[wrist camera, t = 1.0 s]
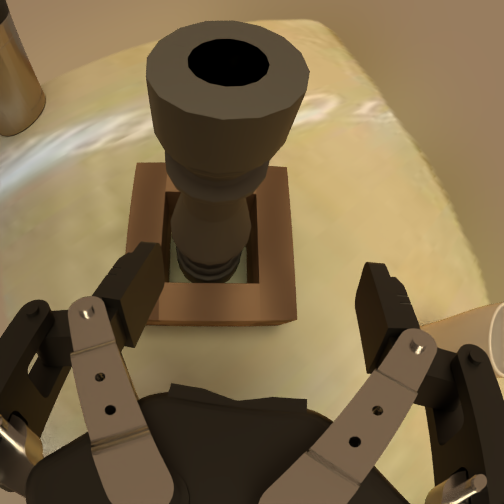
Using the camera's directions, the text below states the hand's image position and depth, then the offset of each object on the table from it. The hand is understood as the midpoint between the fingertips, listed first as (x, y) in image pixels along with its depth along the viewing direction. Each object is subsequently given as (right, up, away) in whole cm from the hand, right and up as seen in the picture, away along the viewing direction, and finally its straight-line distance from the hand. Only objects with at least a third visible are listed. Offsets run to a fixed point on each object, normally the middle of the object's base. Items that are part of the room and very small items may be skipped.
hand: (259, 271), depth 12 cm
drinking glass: (+19, -11, +21) cm, 31 cm away
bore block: (-5, 0, +21) cm, 21 cm away
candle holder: (-5, 0, +21) cm, 21 cm away
